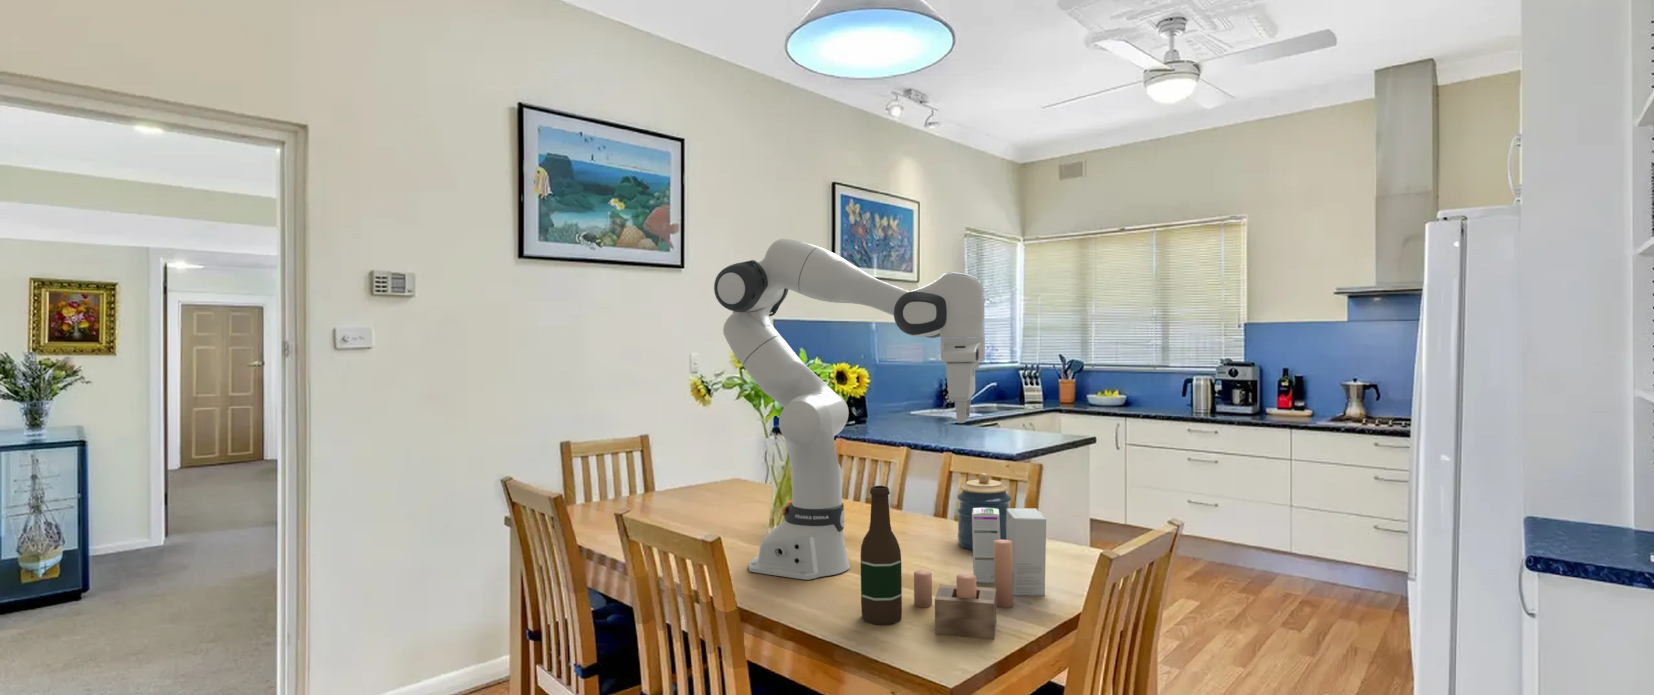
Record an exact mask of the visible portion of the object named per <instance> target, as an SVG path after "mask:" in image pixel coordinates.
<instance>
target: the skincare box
mask: <svg viewBox="0 0 1654 695" xmlns="http://www.w3.org/2000/svg"><path fill="white" fill-rule="evenodd" d="M1006 540H1009V541H1012V564H1013V597H1014V596H1015V597H1016V596H1018V597H1019V596H1020V597H1021V596H1027V597H1028V596H1029V597H1030V596H1034V597H1035V596H1036V597H1037V596H1038V597H1039V596H1043V597H1044V596H1045V595H1046V560H1047V559H1046V557H1047V556H1046V549H1047V548H1046V546H1047V519H1046V517H1045V516H1044V515H1043V513H1042V512H1040V511H1039V510H1038V508H1035V507H1034V508H1031V507H1030V508H1025V507H1023V508H1019V507H1018V508H1016V507H1015V508H1010V507H1009V509H1007V520H1006Z"/></svg>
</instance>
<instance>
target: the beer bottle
mask: <svg viewBox="0 0 1654 695" xmlns="http://www.w3.org/2000/svg"><path fill="white" fill-rule="evenodd" d="M869 494H870V495H871V502H870V519H869V520H870V521H869V528H868V531H867V532H866V534H865V536H864V537H863V539H862V542H861V546H860V606H861V616H862V621H863V622H865V623H869V624H871V625H874V626H888V625H889V626H890V625H891V626H892V625H894V624H896V623H897V622H899V621H901V620H902V618H903V617H902V616H903V614H902V613H903V612H902V610H903V605H902V604H903V601H902V600H903V594H902V593H903V592H902V591H903V590H902V589H903V588H902V587H903V586H902V583H903V582H902V553H901V551H902V550H901V548H900V545H899V542H898V540H897V537H896V535H895V534H894V533H893V531H892V527H891V518H890V517H891V515H890V514H891V513H890V501H889V495H890V494H891V492H890V489H889V487H888V486H886V485H874V486H871V487H870V491H869Z"/></svg>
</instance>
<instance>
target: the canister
mask: <svg viewBox="0 0 1654 695" xmlns="http://www.w3.org/2000/svg"><path fill="white" fill-rule="evenodd" d="M960 489H961V490H962V491H961V492H960V493H959V494H958V495H957V498H956V499H957V500H958V501H959V505H958V506H959V507H958V508H957V518H958V519H957V521H958V522H957V523H958V530H957V531H958V533H957V541H958V544H959V546H960V547H961V548H964V549H967V550H970V551H973V538H972V511H973V508H997V509H999V519H1000V537H1001V540H1006V520H1007V509H1009V508H1010V502H1011V500H1012V496H1011V495H1010V494H1008V493H1007V491H1008V489H1009V488H1008V486H1006V485H1005V484H1003V482H1001V481H1000V480H999V481H998V480H994V479H990V476H989V474H988V473H985V472H981V473H980V474H979V475H978V479H971V480H967V481H966V482H965V483H964V484H962V485H960Z"/></svg>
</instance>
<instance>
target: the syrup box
mask: <svg viewBox="0 0 1654 695" xmlns="http://www.w3.org/2000/svg"><path fill="white" fill-rule="evenodd" d="M972 538H973V550H972V564H973V565H972V570H973V574H972V575H975V576H976V583H981V584H982V583H984V584H995V582H994V541H995V540H1001V537H1000V519H999V509H997V508H973V511H972Z"/></svg>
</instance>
